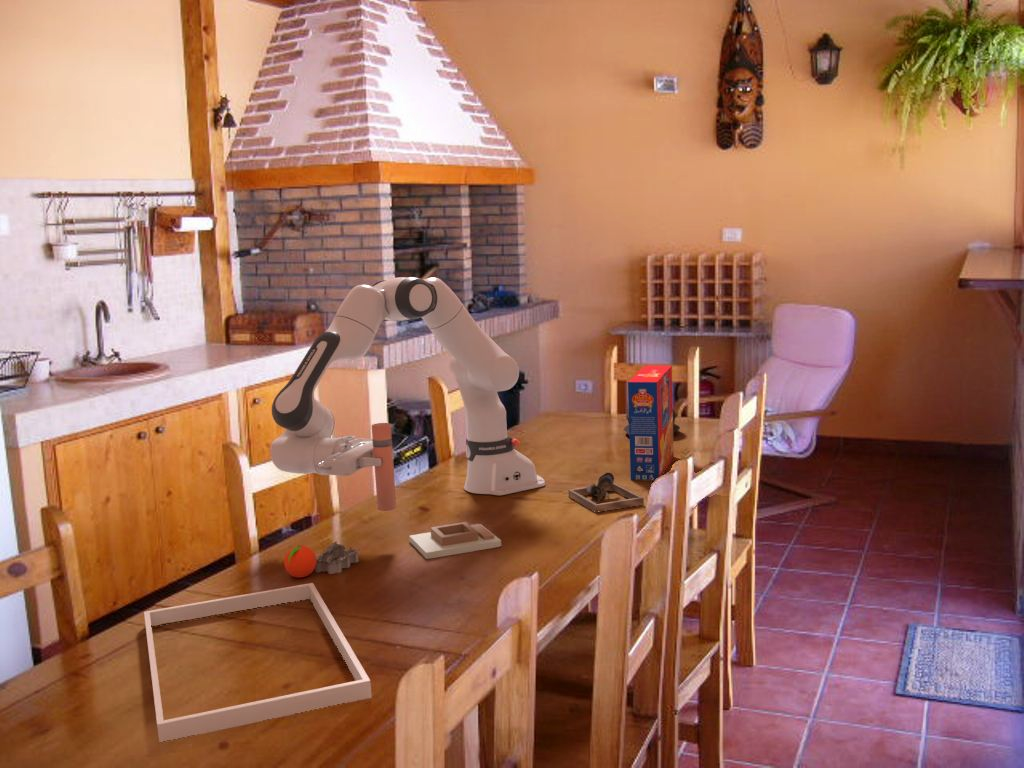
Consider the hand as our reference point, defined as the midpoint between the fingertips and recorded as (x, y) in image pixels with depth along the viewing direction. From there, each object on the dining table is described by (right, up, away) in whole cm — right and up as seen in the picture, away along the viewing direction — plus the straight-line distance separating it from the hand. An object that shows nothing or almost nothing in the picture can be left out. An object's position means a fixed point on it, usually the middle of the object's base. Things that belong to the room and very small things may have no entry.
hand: (387, 458), depth 246 cm
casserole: (+76, +1, +105) cm, 129 cm away
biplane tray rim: (-18, -32, -57) cm, 68 cm away
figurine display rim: (+54, -13, +30) cm, 63 cm away
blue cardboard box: (+70, -7, +61) cm, 93 cm away
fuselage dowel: (0, -12, +2) cm, 12 cm away
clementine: (-17, -25, -16) cm, 34 cm away
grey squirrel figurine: (+53, -13, +33) cm, 64 cm away
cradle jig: (+16, -20, +1) cm, 26 cm away
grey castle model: (-10, -24, -9) cm, 27 cm away
